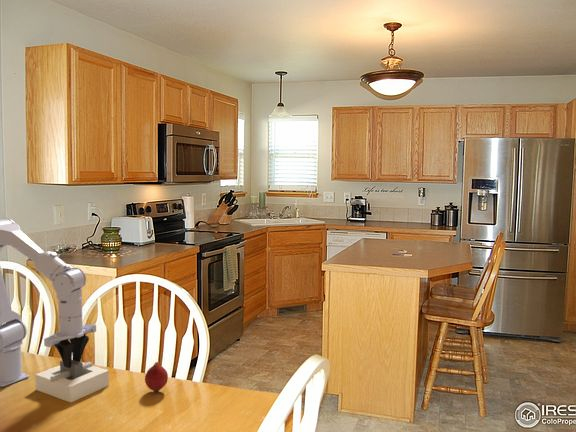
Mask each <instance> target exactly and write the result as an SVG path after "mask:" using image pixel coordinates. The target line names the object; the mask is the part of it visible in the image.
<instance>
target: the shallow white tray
mask: <svg viewBox="0 0 576 432" xmlns="http://www.w3.org/2000/svg"><path fill="white" fill-rule="evenodd" d="M81 362H82V363H83V376H81V377H78V378H76V379H73V380H72V379H71V380H68V379H65V378H67V377H69V376H72V372H70V371H67V370H66V371H64V372H61V373H60V364H59V365H57V366H55V367H51V368H49V369H46V370H44V371H40V372H38V373H36V374H35V375H34V376H35V377H34V378H35V380H34V381H35V391H38V392H41V393H44V394H46V395H48V396H52V397H55V398H56V399H60V400H63V401H66V402H68V403H73V402H74V403H75V402H76V401H77V400H80V399H82V398H85V397H87V396H88V395H91V394H93V393H95V392H96V393H97V392H98V391H100V390H102V389H104V388H107V387H108V386H110V377H109V375H110V374H109V373H110V372H109V369H105V368H102V367H99V366H95V365H94V362H92V361H86V362H83V361H81Z"/></svg>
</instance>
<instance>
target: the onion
mask: <svg viewBox="0 0 576 432" xmlns="http://www.w3.org/2000/svg"><path fill="white" fill-rule="evenodd" d="M168 378H169V374H168V371H167V370H166V368H165V367H163V366H161V365H160V362H159V361H155V362H154V363H153V365H152V366H150V368H148V370H147V371H146V372H145V376H144V382H145V384H146V386H147V388H149V390H151V391H153V392H156V393H158V392H160V391H161V390H162V389H163V388H164V387H165V386H166V385H167V383H168Z"/></svg>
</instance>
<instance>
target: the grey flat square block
mask: <svg viewBox="0 0 576 432" xmlns="http://www.w3.org/2000/svg"><path fill="white" fill-rule="evenodd" d="M82 362H83V361H81V362H78V361H75V360H73V359H72V365H71V367H70V368H67V367H64V364H63V361H62V360H60V361H59V365H60V373H61V372H64V371H66V370H67V371H70V372H72V376H69V377H67V378H65V379H68V380H71V379H72V380H73V379H76V378H78V377H81V376H83V363H84V362H83V363H82Z"/></svg>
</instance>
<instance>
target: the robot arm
mask: <svg viewBox="0 0 576 432" xmlns="http://www.w3.org/2000/svg"><path fill="white" fill-rule="evenodd" d="M5 246H10V247H12V248H14V249H15V250H17V251H18V252H20V254H23V256H25V257H26V258H28V259H29V260H30V261H32V262H33V266H34V269H35V270H36V271H38V272H39V273H40V274H41V275H42V276H43V277H45V278H46V279H48V280H49V281H50V282H51V284H52V288H53V289H54V291H55V293H56V299H57V301H58V302H57V303H58V328H59V329H58V331H57V332H56V333H54V334H52V335H50V336H48V337H45V338H44V339H43V342H44V343H43V347H47V348H51V347H53V346H54V347H55V348H56V349H57V352H58V353H59V356H60V358H61V361H63V364H64V367H67V368H70V367H71V365H72V360H75V361H78V362H82V357H83V354H84V351H85V348H86V346H87V344H88V343H89V341H90V337H89V336H88V335H87V334H90V333H96V332H97V325H96V324H95V323H89V324H85V325H84V324H83V292H82V291H83V287H84V286H86V283H87V277H86V274H85V273H84V271H83V270H82V269H81V268H80V267H72V266H71V265H70V264H68V263H66V262H64V260H63V259H61V258H60V257H59V256H58V254H57V253H56V252H55V251H44V250H43V249H42V248H40V247H39V246H38V245H37V244H36V243H35V242H34V241H33V240H31V238H30V237H28V236H27V235H26V234H25V233H24V232H23V231H22V230H21V227H20V225H19V224H18V223H17V222H15V221H14V220H13V219H12V218H9V217H6V218H1V219H0V252H1V251H2V250H3V248H4V247H5ZM5 283H6V282H5V280H4V276H3V272H2V268H1V266H0V387H2V388H3V387H6V386H8V385H11V384H14V383H17V382H19V381H22V380H25V379H28V378H29V377H30V375H29V374H27V373H24V372H23V367H22V366H23V364H22V347H21V346H22V345H23V340H25V338H26V337H27V333H28V331H27V329H28V328H27V326H26V324H25V323H24V321H23V320H22V319H21V315H20V313H18V312H15V311H13V310H12V306H11V302H10V299H9V295H8V291H7V287H6V284H5Z"/></svg>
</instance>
